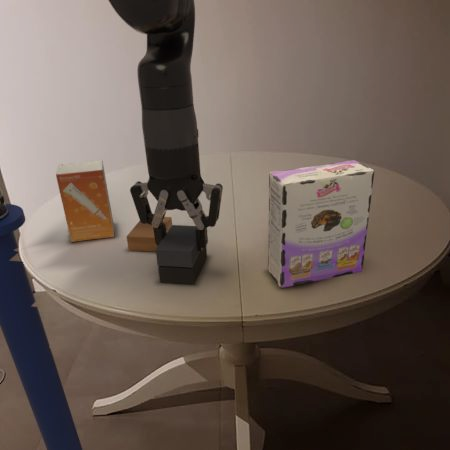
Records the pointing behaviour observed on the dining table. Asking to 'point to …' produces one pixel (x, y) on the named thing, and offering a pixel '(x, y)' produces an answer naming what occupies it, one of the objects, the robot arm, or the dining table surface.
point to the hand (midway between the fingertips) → (182, 247)
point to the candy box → (318, 221)
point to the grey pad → (178, 247)
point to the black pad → (183, 271)
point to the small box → (85, 200)
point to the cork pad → (145, 236)
